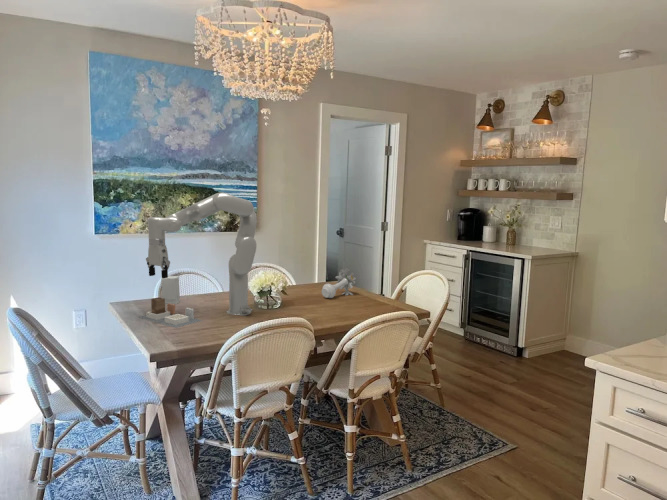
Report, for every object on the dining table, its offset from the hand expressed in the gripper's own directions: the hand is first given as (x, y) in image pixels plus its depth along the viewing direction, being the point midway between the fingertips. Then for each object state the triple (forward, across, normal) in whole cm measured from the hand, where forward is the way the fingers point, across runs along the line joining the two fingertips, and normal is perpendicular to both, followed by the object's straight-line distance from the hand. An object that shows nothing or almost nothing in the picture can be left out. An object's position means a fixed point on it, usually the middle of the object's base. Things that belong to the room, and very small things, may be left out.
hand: (158, 276), depth 244 cm
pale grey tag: (+21, -14, -7) cm, 26 cm away
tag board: (+21, -6, -1) cm, 22 cm away
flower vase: (+24, -40, -101) cm, 111 cm away
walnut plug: (+20, 0, +1) cm, 20 cm away
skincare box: (+22, +20, -22) cm, 36 cm away
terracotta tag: (+20, 0, -7) cm, 22 cm away
